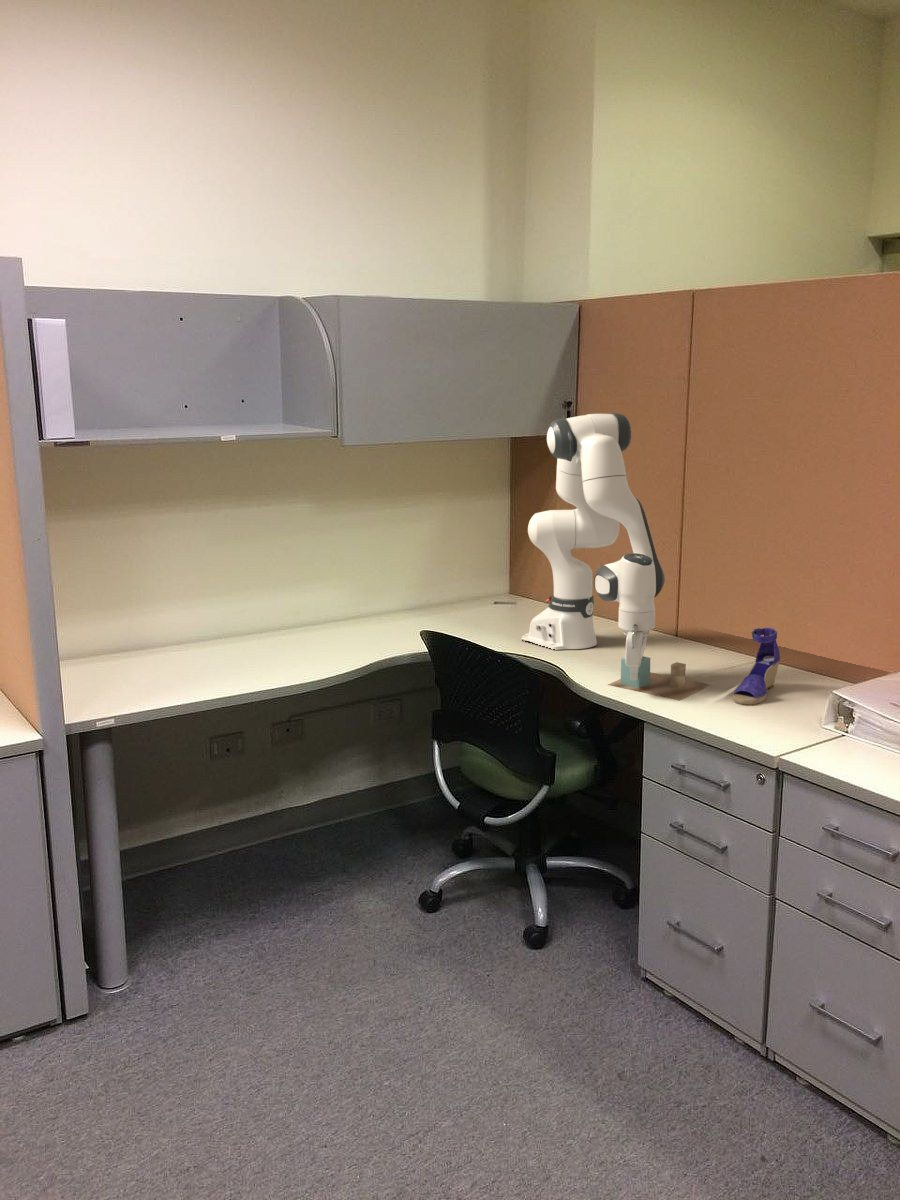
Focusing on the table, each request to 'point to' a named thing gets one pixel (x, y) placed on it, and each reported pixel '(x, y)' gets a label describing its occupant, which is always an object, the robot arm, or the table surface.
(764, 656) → the sandal
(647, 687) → the board
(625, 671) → the teal rectangular block
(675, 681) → the post
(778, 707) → the table surface
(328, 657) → the table surface
